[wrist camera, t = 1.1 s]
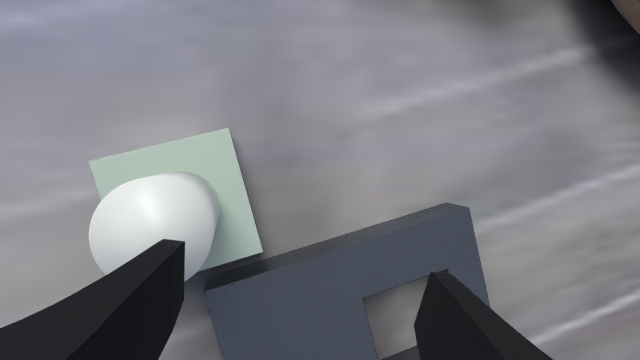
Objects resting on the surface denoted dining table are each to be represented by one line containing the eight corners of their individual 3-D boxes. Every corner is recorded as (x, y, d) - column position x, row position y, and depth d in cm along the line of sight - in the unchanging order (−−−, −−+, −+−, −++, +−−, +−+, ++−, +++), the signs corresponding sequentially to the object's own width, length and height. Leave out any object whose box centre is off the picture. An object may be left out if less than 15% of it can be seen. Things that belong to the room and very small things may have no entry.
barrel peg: (152, 256, 20) (109, 307, 13) (129, 182, 20) (72, 195, 13) (228, 233, 21) (225, 271, 14) (207, 162, 20) (194, 164, 13)
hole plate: (260, 458, 24) (263, 493, 21) (206, 277, 23) (203, 292, 20) (482, 365, 27) (507, 387, 24) (446, 202, 26) (470, 207, 23)
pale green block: (140, 280, 22) (130, 292, 20) (102, 160, 21) (88, 161, 19) (260, 243, 23) (263, 251, 21) (228, 130, 22) (228, 127, 20)
